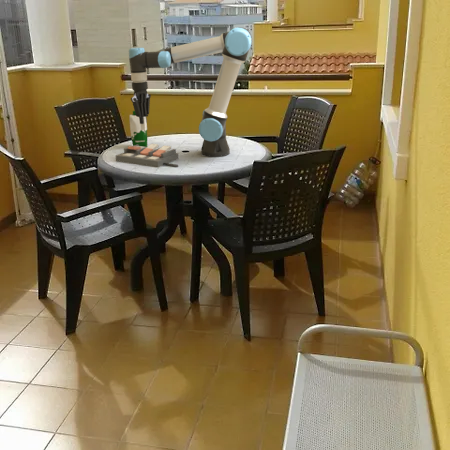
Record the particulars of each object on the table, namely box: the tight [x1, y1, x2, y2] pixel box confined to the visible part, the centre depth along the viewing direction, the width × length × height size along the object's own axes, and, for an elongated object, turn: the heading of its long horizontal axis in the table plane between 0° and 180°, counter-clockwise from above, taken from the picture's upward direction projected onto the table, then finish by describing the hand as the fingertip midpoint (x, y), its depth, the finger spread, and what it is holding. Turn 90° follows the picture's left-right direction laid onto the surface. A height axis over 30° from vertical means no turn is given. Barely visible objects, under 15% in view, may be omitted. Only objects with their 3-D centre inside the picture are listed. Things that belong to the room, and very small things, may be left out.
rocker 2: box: [153, 145, 172, 157], centre depth 268 cm, size 4×10×1 cm, turn 149°
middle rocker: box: [140, 143, 160, 155], centre depth 272 cm, size 4×10×1 cm, turn 149°
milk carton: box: [129, 110, 148, 147], centre depth 294 cm, size 9×9×20 cm
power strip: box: [115, 145, 179, 168], centre depth 269 cm, size 36×17×5 cm, turn 59°
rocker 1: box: [127, 145, 144, 150], centre depth 276 cm, size 4×10×1 cm, turn 149°
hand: (144, 129), depth 265 cm, fingers closed
